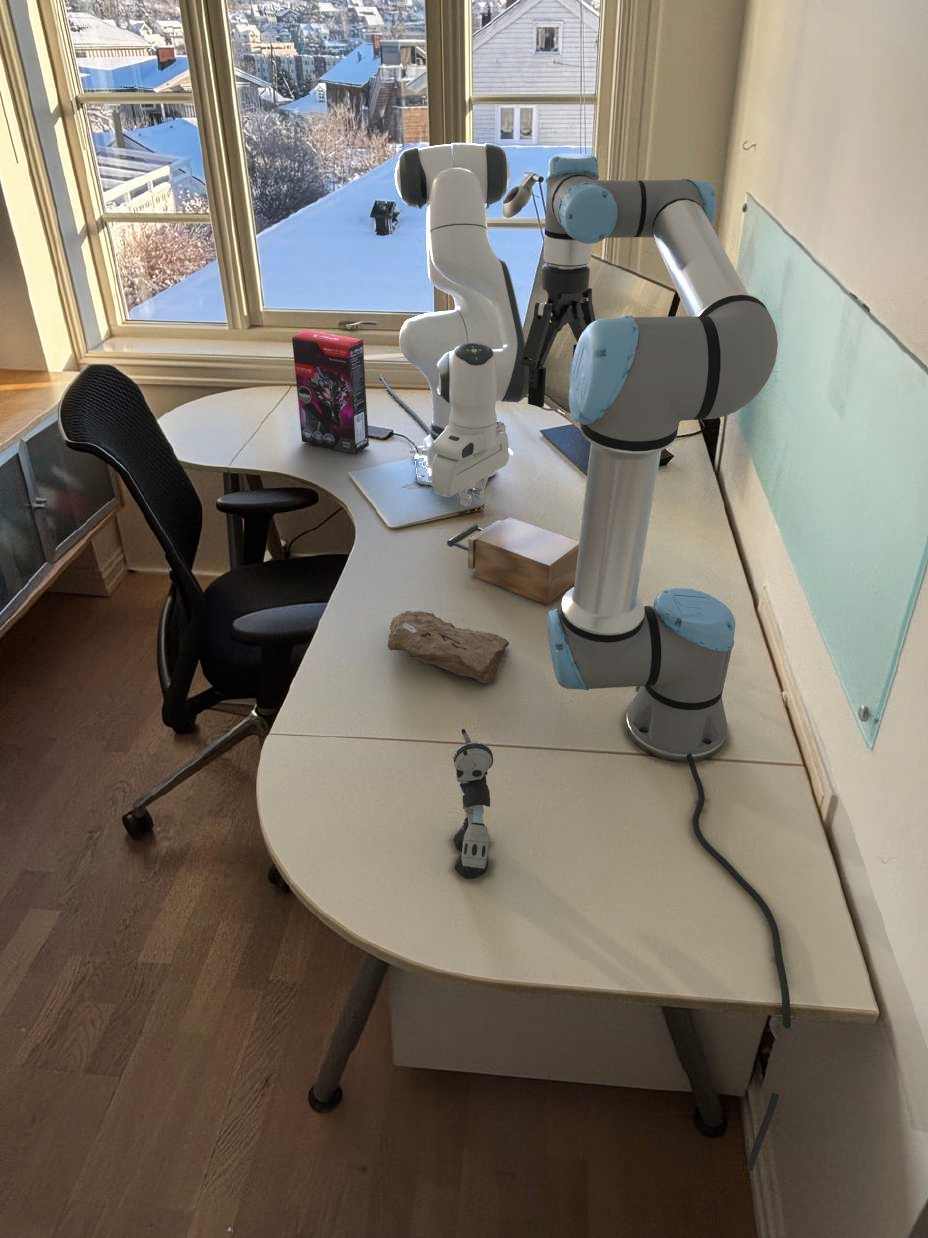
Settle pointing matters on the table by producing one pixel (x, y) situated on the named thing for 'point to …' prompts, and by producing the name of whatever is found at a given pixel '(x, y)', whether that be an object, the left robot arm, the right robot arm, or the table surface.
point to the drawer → (470, 541)
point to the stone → (447, 645)
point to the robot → (473, 807)
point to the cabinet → (527, 560)
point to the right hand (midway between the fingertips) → (557, 393)
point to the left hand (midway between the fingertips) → (471, 500)
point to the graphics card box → (331, 390)
